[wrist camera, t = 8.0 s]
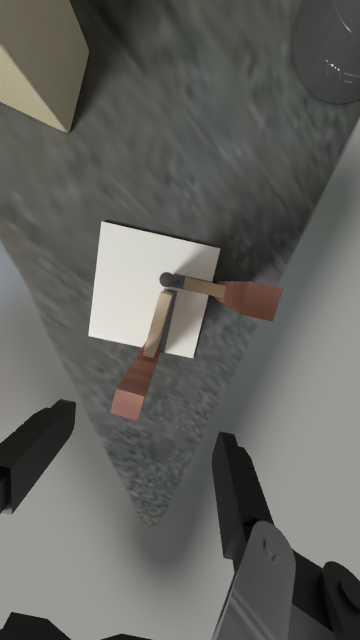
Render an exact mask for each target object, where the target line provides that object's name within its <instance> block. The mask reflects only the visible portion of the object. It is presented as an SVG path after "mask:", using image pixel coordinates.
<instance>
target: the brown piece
mask: <svg viewBox="0 0 360 640" xmlns="http://www.w3.org/2000/svg"><path fill="white" fill-rule="evenodd" d="M159 281H160V284H161V285H162V286H163V287H170V286H173V285H175V284H176V283H177V282H178V278H177V277H176V276H175V275H173V274H171V273H169V272H164V273H162V274H161V276H160V278H159ZM183 289H184V290H189V291H193V292H198V293H202V294H207V295H211V296H214V299H216V300H218V301H219V302H221V303H223V304H225V305H226V306H228V307H230V308H231V309H233V310H235V311H236V312H238V313H240V314H242V315H246V316H251V317H255V318H260V319H265V320H269V321H273V318H274V315H275V312H276V309H277V307H278V303H279V300H280V298H281V294H282V292H283V289H281V288H277V287H272V286H268V285H264V284H259V283H255V282H246V281H218V284H214V283H210V282H206V281H201V280H197V279H192V278H188V277H185V281H184V286H183Z"/></svg>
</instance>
